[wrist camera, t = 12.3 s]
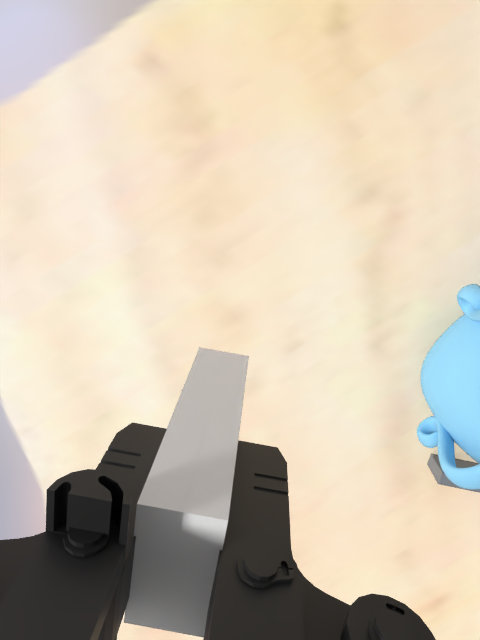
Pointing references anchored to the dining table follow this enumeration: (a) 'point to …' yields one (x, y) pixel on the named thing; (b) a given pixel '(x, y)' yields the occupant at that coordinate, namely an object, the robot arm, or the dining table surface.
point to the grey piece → (440, 475)
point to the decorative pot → (455, 392)
